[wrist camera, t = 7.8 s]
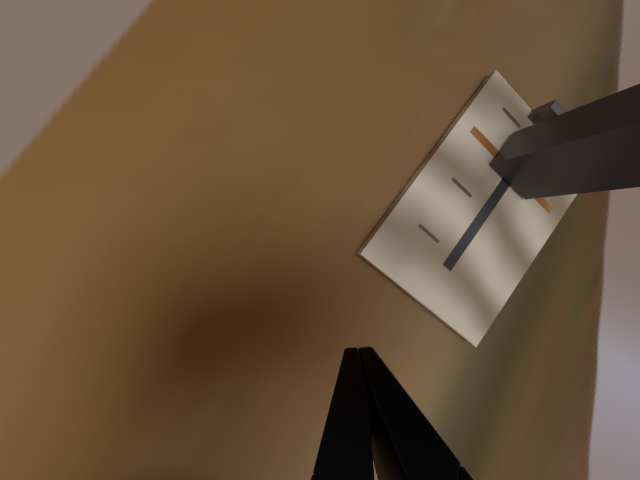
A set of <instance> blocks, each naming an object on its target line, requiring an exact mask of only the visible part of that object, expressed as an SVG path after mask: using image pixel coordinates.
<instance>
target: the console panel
mask: <svg viewBox="0 0 640 480" xmlns="http://www.w3.org/2000/svg"><path fill="white" fill-rule="evenodd" d="M565 112H566V111H565V110H564V109H563V108H562V106H561V105H560V104H559V103H558V102H557V100H554V101H552V102H549V103H547V104H545V105H543V106H540V107H538V108H536V109H534V110H531V109H530V108H529V107H528V105H527V104H526V103H525V102H524V101H523V100H522V99H521V98H520V96H519V95H518V94H517V93H516V92H515V91H514V90H513V88H512V87H511V86H510V85H509V84H508V83H507V82H506V81H505V79H504V78H503V77H502V76H501V75H500V74H499V73H498V71H497V70H495V71H494V72H492V73H491V74H489V75H488V76H487V77H486V78H485V79H484V81H483V82H482V83H481V85H480V86H479V87H478V89H477V90H476V91H475V93H474V94H473V96H472V97H471V98H470V100H469V101H468V102H467V104H466V105H465V106H464V108H463V109H462V110H461V112H460V113H459V114H458V116H457V117H456V119H455V120H454V121H453V123H452V124H451V125H450V127H449V128H448V129H447V131H446V132H445V133H444V135H443V136H442V138H441V139H440V140H439V142H438V143H437V144H436V146H435V147H434V148H433V150H432V151H431V152H430V154H429V155H428V156H427V158H426V159H425V161H424V162H423V163H422V165H421V166H420V167H419V169H418V170H417V171H416V173H415V174H414V175H413V177H412V178H411V180H410V181H409V182H408V184H407V185H406V186H405V188H404V189H403V190H402V192H401V193H400V194H399V196H398V197H397V198H396V200H395V201H394V203H393V204H392V205H391V207H390V208H389V209H388V211H387V212H386V213H385V215H384V216H383V217H382V219H381V220H380V222H379V223H378V224H377V226H376V227H375V228H374V230H373V231H372V232H371V234H370V235H369V236H368V238H367V239H366V240H365V242H364V243H363V245H362V246H361V247H360V249H359V250H358V251H357V254H358V255H359V256H361V257H362V258H363V259H364V260H366V261H367V262H368V263H369V264H371V265H372V266H373V267H374V268H376V269H377V270H378V271H379V272H381V273H382V274H383V275H384V276H386V277H387V278H388V279H389V280H391V281H392V282H393V283H394V284H396V285H397V286H398V287H399V288H401V289H402V290H403V291H404V292H406V293H407V294H408V295H409V296H411V297H412V298H413V299H414V300H416V301H417V302H418V303H419V304H421V305H422V306H423V307H424V308H426V309H427V310H428V311H429V312H431V313H432V314H433V315H434V316H436V317H437V318H438V319H439V320H441V321H442V322H443V323H444V324H446V325H447V326H448V327H449V328H451V329H452V330H453V331H454V332H456V333H457V334H458V335H459V336H461V337H462V338H463V339H464V340H466V341H467V342H468V343H470V344H472V345H473V346H475V347H477V345H478V344H479V342H480V341H481V339H482V338H483V336H484V335H485V333H486V332H487V330H488V329H489V327H490V326H491V324H492V323H493V321H494V319H495V318H496V316H497V315H498V313H499V312H500V310H501V309H502V307H503V306H504V304H505V303H506V301H507V300H508V298H509V297H510V295H511V294H512V292H513V291H514V289H515V288H516V286H517V285H518V283H519V282H520V280H521V279H522V277H523V275H524V274H525V272H526V271H527V269H528V268H529V266H530V265H531V263H532V262H533V260H534V259H535V257H536V256H537V254H538V253H539V251H540V250H541V248H542V247H543V245H544V244H545V242H546V241H547V239H548V238H549V236H550V235H551V233H552V231H553V230H554V228H555V227H556V225H557V224H558V222H559V221H560V219H561V218H562V216H563V215H564V213H565V212H566V210H567V209H568V207H569V206H570V204H571V203H572V201H573V200H574V198H575V197H576V195H577V194H570V195H561V196H552V197H543V198H534V199H524V198H523V197H522V196H521V195H520V194H519V193H518V192H517V191H516V190H515V189H514V188H513V187H512V186H511V185H510V183H509V182H508V181H507V180H506V179H505V178H504V177H503V176H502V175H501V174H500V173H499V172H498V171H497V170H496V169H495V168H494V167H493V166H492V165H491V163H492V161H493V160H494V159H495V157H496V156H497V154H498V153H499V152H500V150H501V149H502V147H503V146H504V144H505V143H506V142H507V140H508V139H509V137H510V136H511V135H512V133H513V132H516V131H519V130H521V129H524V128H526V127H529V126H532V125H534V124H537V123H539V122H542V121H545V120H547V119H550V118H552V117H555V116H557V115H560V114H563V113H565Z"/></svg>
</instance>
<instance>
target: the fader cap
mask: <svg viewBox="0 0 640 480" xmlns="http://www.w3.org/2000/svg"><path fill="white" fill-rule="evenodd" d="M491 165H492V166H493V167H494V168H495V169H496V170H497V171H498V172H499V173H500V174H501V175H502V176H503V177H504V178H505V179H506V180H507V181H508V182H509V183H510V185H511V186H512V187H513V188H514V189H515V190H516V191H517V192H518V193H519V194H520V195H521V196H522V197H523V198H524V199H534V198H543V197H552V196H561V195H570V194H579V193H588V192H597V191H606V190H615V189H625V188H633V187H640V84H638V85H635V86H633V87H630V88H628V89H625V90H622V91H620V92H617V93H615V94H612V95H609V96H607V97H604V98H602V99H599V100H596V101H594V102H591V103H589V104H586V105H583V106H581V107H578V108H576V109H573V110H570V111H568V112H565V113H563V114H560V115H557V116H555V117H552V118H550V119H547V120H545V121H542V122H539V123H537V124H534V125H532V126H529V127H526V128H524V129H521V130H519V131H516V132H513V133H512V135H511V136H510V137H509V139H508V140H507V142H506V143H505V144H504V146H503V147H502V149H501V150H500V152H499V153H498V154H497V156H496V157H495V159H494V160H493V161H492V163H491Z"/></svg>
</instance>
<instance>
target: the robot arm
mask: <svg viewBox="0 0 640 480" xmlns="http://www.w3.org/2000/svg"><path fill="white" fill-rule="evenodd" d="M373 461H374V465H375V469H376V473H377V477H378V480H473V479H472V477H471V476H470V475H469V473H468V472H467V471H466V470H465V468H464V467H463V466H461V467H460V462H459V461H458V459H457V458H456V457H455V455H454V454H453V453H452V451H451V450H450V449H449V447H448V446H447V445H446V443H445V442H444V441H443V439H442V438H441V437H440V436H439V434H438V433H437V432H436V430H435V429H434V428H433V426H432V425H431V424H430V422H429V421H428V420H427V418H426V417H425V416H424V414H423V413H422V412H421V411H420V409H419V408H418V407H417V405H416V404H415V403H414V401H413V400H412V399H411V397H410V396H409V395H408V393H407V392H406V391H405V389H404V388H403V387H402V386H401V384H400V383H399V382H398V380H397V379H396V378H395V376H394V375H393V374H392V372H391V371H390V370H389V368H388V367H387V366H386V364H385V363H384V362H383V360H382V359H381V358H380V357H379V355H378V354H377V353H376V351H375V350H374V349H373V348H372V347H360V348H359V350H358V348H346V349H345V350H344V354H343V358H342V362H341V365H340V369H339V373H338V377H337V381H336V385H335V389H334V393H333V397H332V400H331V404H330V408H329V412H328V416H327V420H326V424H325V428H324V432H323V436H322V439H321V443H320V447H319V451H318V455H317V459H316V463H315V467H314V471H313V474H314V475H312V478H311V480H374V468H373Z"/></svg>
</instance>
